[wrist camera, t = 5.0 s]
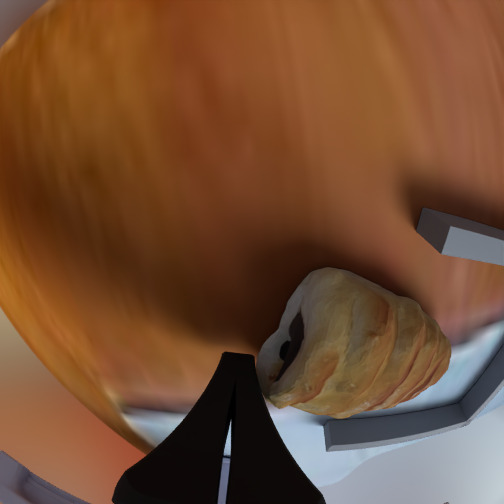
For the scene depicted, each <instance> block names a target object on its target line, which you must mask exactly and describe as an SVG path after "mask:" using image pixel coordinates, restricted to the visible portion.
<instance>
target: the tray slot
mask: <svg viewBox="0 0 504 504" xmlns="http://www.w3.org/2000/svg"><path fill="white" fill-rule="evenodd" d="M416 232H417V233H418V234H420V235H421V236H422V237H423V238H424V239H425V240H426V241H427V242H429V243H430V244H431V245H432V246H433V247H434V248H435V249H436V250H437V251H438V252H439V253H441V254H443V255H449V256H455V257H460V258H466V259H472V260H477V261H482V262H488V263H493V264H498V265H503V266H504V231H503V230H500V229H497V228H494V227H491V226H488V225H485V224H482V223H478V222H475V221H472V220H468V219H465V218H461V217H458V216H454V215H451V214H447V213H444V212H440V211H436V210H432V209H428V208H424V207H423V208H422V212H421V216H420V219H419V223H418V226H417V229H416ZM503 386H504V344H503V346H502V347H501V349H500V350H499V352H498V353H497V355H496V356H495V358H494V359H493V361H492V362H491V363H490V365H489V366H488V368H487V369H486V370H485V372H484V373H483V374H482V376H481V377H480V378H479V380H478V381H477V382H476V383H475V385H474V386H473V387H472V388H471V390H470V391H469V392H468V393H467V394H466V396H465V397H464V398H463V399H462V400H461V401H460V402H459V403H457V404H453V405H449V406H444V407H439V408H435V409H430V410H424V411H419V412H413V413H406V414H399V415H392V416H383V417H373V418H362V419H346V420H328V421H327V422H326V424H325V425H324V427H323V428H324V436H325V445H326V452H329V451H343V450H354V449H363V448H371V447H378V446H385V445H391V444H397V443H402V442H407V441H412V440H416V439H421V438H425V437H429V436H433V435H437V434H440V433H444V432H448V431H451V430H454V429H457V428H460V427H464V426H466V425H468V424H469V423H470V422H471V421H472V420H473V419H474V418H475V417H476V416H477V415H478V414H479V413H480V412H481V411H482V410H483V409H484V408H485V407H486V406H487V405H488V403H489V402H490V401H491V400H492V399H493V398H494V397H495V395H496V394H497V393H498V392H499V391H500V390H501V388H502V387H503Z"/></svg>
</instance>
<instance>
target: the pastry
mask: <svg viewBox="0 0 504 504" xmlns="http://www.w3.org/2000/svg"><path fill="white" fill-rule="evenodd" d="M450 357H451V344H450V341H449V340H448V338H447V337H446V336H445V335H444V334H443V333H442V331H441V329H440V326H439V325H438V323H437V322H436V321H435V320H434V319H432V318H431V317H430V316H428V315H427V314H426V313H424V311H423V310H421V307H420V305H419V304H418V303H417V302H416V301H415V300H413V299H410V298H408V297H401V296H396V295H395V294H394V293H393V292H391V291H389V290H386V289H384V288H382V287H381V286H380V285H378V284H375V283H373V282H371V281H369V280H366V279H364V278H362V277H361V276H359V275H356V274H354V273H352V272H350V271H347V270H342V269H336V268H330V267H325V268H322V269H318V270H315V271H312V272H310V273H309V274H308V275H307V277H306V278H305V279H304V280H303V281H302V282H301V284H300V285H299V286H298V287H297V289H296V290H295V292H294V293H293V294H292V296H291V297H290V299H289V301H288V302H287V306H286V310H285V312H284V314H283V315H282V318H281V321H280V325H279V328H278V330H277V331H276V332H275V333H274V334H272V335H271V336H270V337H269V338H268V339H267V340H266V341H265V343H264V344H263V346H262V348H261V350H260V352H259V353H258V355H257V361H256V372H257V377H258V381H259V385H260V388H261V391H262V393H263V395H264V397H265V399H266V400H267V401H268V402H269V403H270V404H273V405H274V406H275V407H277V408H279V409H281V408H284V407H286V406H288V405H289V406H292V407H294V408H297V409H300V410H303V411H306V412H309V413H312V414H316V415H328V416H331V417H333V418H337V419H343V418H348V417H350V416H352V415H354V414H358V413H360V412H363V411H372V410H380V409H388V408H392V407H395V406H396V405H397V404H399V403H402V402H405V401H408V400H410V399H413V398H414V397H416V396H418V395H419V394H420V393H421V392H422V391H424V390H426V389H427V388H428V387H429V386H431V385H434V384H435V383H437V381H438V380H439V379H440V378H441V377H442V376H443V374H444V373H445V372H446V371H447V370H448V366H449V363H450Z"/></svg>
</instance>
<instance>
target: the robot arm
mask: <svg viewBox="0 0 504 504" xmlns="http://www.w3.org/2000/svg"><path fill="white" fill-rule="evenodd" d="M230 422H231V456H230V458H223V454H224V449H225V444H226V439H227V435H228V430H229V426H230ZM0 501H1V502H2V503H3V504H90V503H88V502H85V501H84V500H81V499H79V498H77V497H75V496H73V495H71V494H69V493H67V492H65V491H63V490H61V489H59V488H57V487H56V486H54V485H52V484H50V483H49V482H47V481H45V480H43V479H42V478H40V477H38V476H37V475H35V474H33V473H32V472H30V471H29V470H28V469H27V468H26V467H25V466H23V465H22V464H20V463H19V462H18V461H16V460H15V459H13V458H12V457H11V456H9V455H8V454H6V453H5V452H4V451H0ZM112 502H113V503H114V504H326V502H325V500H324V497H323V495H322V494H321V492H320V491H319V490H318V489H317V488H316V487H315V486H314V484H313V483H312V482H311V481H310V480H309V479H308V477H307V476H306V475H305V473H304V472H303V471H302V470H301V468H300V467H299V465H298V464H297V462H296V461H295V460H294V458H293V457H292V455H291V454H290V452H289V450H288V449H287V447H286V446H285V444H284V442H283V440H282V439H281V437H280V435H279V433H278V431H277V429H276V427H275V425H274V423H273V420H272V418H271V416H270V413H269V411H268V409H267V406H266V403H265V401H264V398H263V394H262V391H261V388H260V385H259V381H258V377H257V373H256V367H255V357H254V356H253V355H250V354H241V353H233V352H224V353H222V357H221V359H220V362H219V364H218V367H217V369H216V371H215V373H214V375H213V377H212V379H211V380H210V382H209V384H208V385H207V387H206V389H205V391H204V392H203V394H202V395H201V397H200V398H199V399H198V401H197V402H196V404H195V405H194V407H193V408H192V409H191V411H190V412H189V413H188V415H187V416H186V417H185V418H184V419H183V421H182V422H181V423H180V424H179V425H178V426H177V427H176V428H175V430H174V431H173V432H172V433H171V434H170V435H169V436H168V437H167V438H166V439H165V440H164V441H163V442H162V443H160V444H159V445H158V446H157V447H156V448H155V449H154V450H152V451H151V452H150V453H149V454H148V455H147V456H145V457H144V458H143V459H141V460H140V461H139V462H137V463H136V464H134V465H133V466H132V467H130V468H129V469H127V470H126V471H125V472H124V474H123V475H122V476H121V478H120V480H119V481H118V483H117V485H116V487H115V490H114V494H113V497H112ZM444 504H449V503H448V502H446V503H444Z"/></svg>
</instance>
